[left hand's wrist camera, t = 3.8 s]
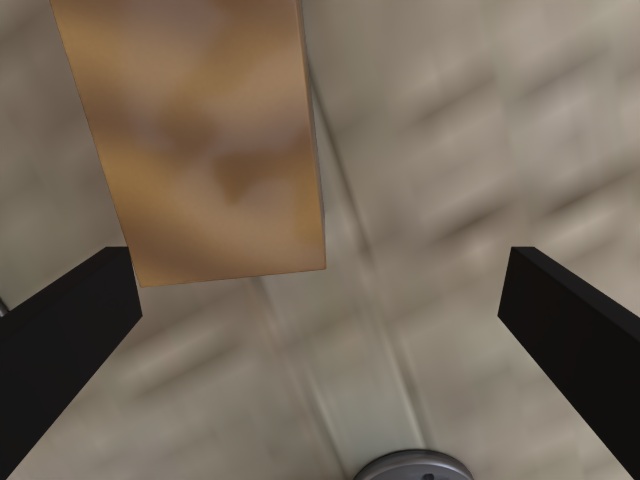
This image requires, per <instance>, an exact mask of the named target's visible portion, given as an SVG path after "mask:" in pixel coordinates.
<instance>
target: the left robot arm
mask: <svg viewBox="0 0 640 480" xmlns="http://www.w3.org/2000/svg"><path fill="white" fill-rule="evenodd" d="M141 317H142V311H141V306H140V301H139V296H138V291H137V286H136V281H135V276H134V271H133V266H132V261H131V256H130V252H129V247H105V248H104V249H102V250H101V251H99V252H98V253H96V254H95V255H93V256H92V257H90V258H89V259H87V260H86V261H84V262H83V263H81V264H80V265H78V266H77V267H75V268H74V269H72V270H71V271H69V272H68V273H66V274H65V275H63V276H62V277H60V278H59V279H57V280H56V281H54V282H53V283H51V284H50V285H48V286H47V287H45V288H44V289H42V290H41V291H39V292H38V293H36V294H35V295H33V296H32V297H30V298H29V299H27V300H26V301H24V302H23V303H21V304H20V305H19V306H17V307H16V308H14V309H13V310H11V311H10V312H8V313H7V314H5V315H4V316H2V317H1V318H0V480H6V479H7V478H8V477H9V475H10V474H11V473H12V472H13V471H14V469H15V468H16V467H17V466H18V465H19V463H20V462H21V461H22V460H23V459H24V457H25V456H26V455H27V454H28V453H29V451H30V450H31V449H32V448H33V447H34V445H35V444H36V443H37V442H38V441H39V439H40V438H41V437H42V436H43V435H44V433H45V432H46V431H47V430H48V429H49V427H50V426H51V425H52V424H53V423H54V421H55V420H56V419H57V418H58V417H59V415H60V414H61V413H62V412H63V411H64V409H65V408H66V407H67V406H68V405H69V403H70V402H71V401H72V400H73V399H74V397H75V396H76V395H77V394H78V393H79V391H80V390H81V389H82V388H83V387H84V385H85V384H86V383H87V382H88V381H89V380H90V378H91V377H92V376H93V375H94V374H95V372H96V371H97V370H98V369H99V368H100V366H101V365H102V364H103V363H104V362H105V360H106V359H107V358H108V357H109V356H110V354H111V353H112V352H113V351H114V350H115V348H116V347H117V346H118V345H119V344H120V342H121V341H122V340H123V339H124V338H125V336H126V335H127V334H128V333H129V332H130V330H131V329H132V328H133V327H134V326H135V324H136V323H137V322H138V321H139V320H140V318H141ZM498 317H499V318H500V320H501V321H502V322H503V323H504V324H505V326H506V327H507V328H508V329H509V330H510V332H511V333H512V334H513V335H514V336H515V338H516V339H517V340H518V341H519V342H520V344H521V345H522V346H523V347H524V348H525V350H526V351H527V352H528V353H529V354H530V356H531V357H532V358H533V359H534V360H535V362H536V363H537V364H538V365H539V366H540V368H541V369H542V370H543V371H544V372H545V374H546V375H547V376H548V377H549V378H550V380H551V381H552V382H553V383H554V384H555V385H556V387H557V388H558V389H559V390H560V391H561V393H562V394H563V395H564V396H565V397H566V399H567V400H568V401H569V402H570V403H571V405H572V406H573V407H574V408H575V409H576V411H577V412H578V413H579V414H580V415H581V417H582V418H583V419H584V420H585V421H586V423H587V424H588V425H589V426H590V427H591V429H592V430H593V431H594V432H595V433H596V435H597V436H598V437H599V438H600V439H601V441H602V442H603V443H604V444H605V445H606V447H607V448H608V449H609V450H610V451H611V453H612V454H613V455H614V456H615V457H616V459H617V460H618V461H619V462H620V463H621V465H622V466H623V467H624V468H625V469H626V471H627V472H628V473H629V474H630V475H631V477H632V478H633V479H634V480H640V318H639V317H638V316H636V315H635V314H633V313H632V312H630V311H629V310H627V309H626V308H624V307H623V306H621V305H620V304H619V303H617V302H616V301H614V300H613V299H611V298H610V297H608V296H607V295H605V294H604V293H602V292H601V291H599V290H598V289H596V288H595V287H593V286H592V285H590V284H589V283H587V282H586V281H584V280H583V279H581V278H580V277H578V276H577V275H575V274H574V273H572V272H571V271H569V270H568V269H566V268H565V267H563V266H562V265H560V264H559V263H557V262H556V261H554V260H553V259H551V258H550V257H548V256H547V255H545V254H544V253H542V252H541V251H539V250H538V249H536V248H535V247H511V252H510V256H509V261H508V266H507V271H506V276H505V281H504V286H503V291H502V296H501V301H500V306H499V311H498ZM354 480H474V479H473V477H472V475H471V473H470V472H469V470H468V469H467V468H466V467H465V466H464V465H463V464H461V463H460V462H459V461H457V460H455V459H454V458H452V457H449V456H447V455H444V454H441V453H437V452H432V451H423V450H413V451H403V452H398V453H394V454H390V455H387V456H384V457H382V458H380V459H378V460H376V461H374V462H372V463H371V464H369V465H368V466H366V467H365V468H364V469H363V470H362V471H361V472H360V473H359V474H358V475H357V476H356V477H355V479H354Z"/></svg>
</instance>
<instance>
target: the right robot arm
mask: <svg viewBox="0 0 640 480" xmlns="http://www.w3.org/2000/svg"><path fill="white" fill-rule="evenodd" d="M7 313H8V312H7V310H6V308H5V307H4V305H3V304H2V303H1V302H0V318H1V317H2V316H4V315H5V314H7Z"/></svg>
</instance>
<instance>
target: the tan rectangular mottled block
mask: <svg viewBox="0 0 640 480" xmlns="http://www.w3.org/2000/svg"><path fill="white" fill-rule="evenodd" d="M49 1H50V4H51V7H52V10H53V13H54V17H55V20H56V23H57V26H58V29H59V32H60V35H61V39H62V42H63V45H64V48H65V51H66V54H67V57H68V61H69V64H70V67H71V70H72V73H73V76H74V80H75V83H76V86H77V89H78V92H79V95H80V98H81V102H82V105H83V108H84V111H85V114H86V117H87V121H88V124H89V127H90V130H91V133H92V136H93V139H94V143H95V146H96V149H97V152H98V155H99V158H100V162H101V165H102V168H103V171H104V174H105V177H106V180H107V184H108V187H109V190H110V193H111V196H112V199H113V202H114V206H115V209H116V212H117V215H118V218H119V221H120V225H121V228H122V231H123V234H124V237H125V240H126V243H127V247H129V252H130V256H131V259H132V262H133V266H134V269H135V272H136V275H137V278H138V281H139V284H140V287H152V286H162V285H172V284H182V283H192V282H203V281H213V280H223V279H233V278H243V277H253V276H264V275H274V274H284V273H294V272H304V271H314V270H324V269H326V244H325V215H324V206H323V196H322V187H321V178H320V169H319V160H318V150H317V141H316V132H315V123H314V113H313V104H312V95H311V86H310V76H309V67H308V58H307V49H306V40H305V30H304V21H303V12H302V3H301V0H49Z"/></svg>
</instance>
